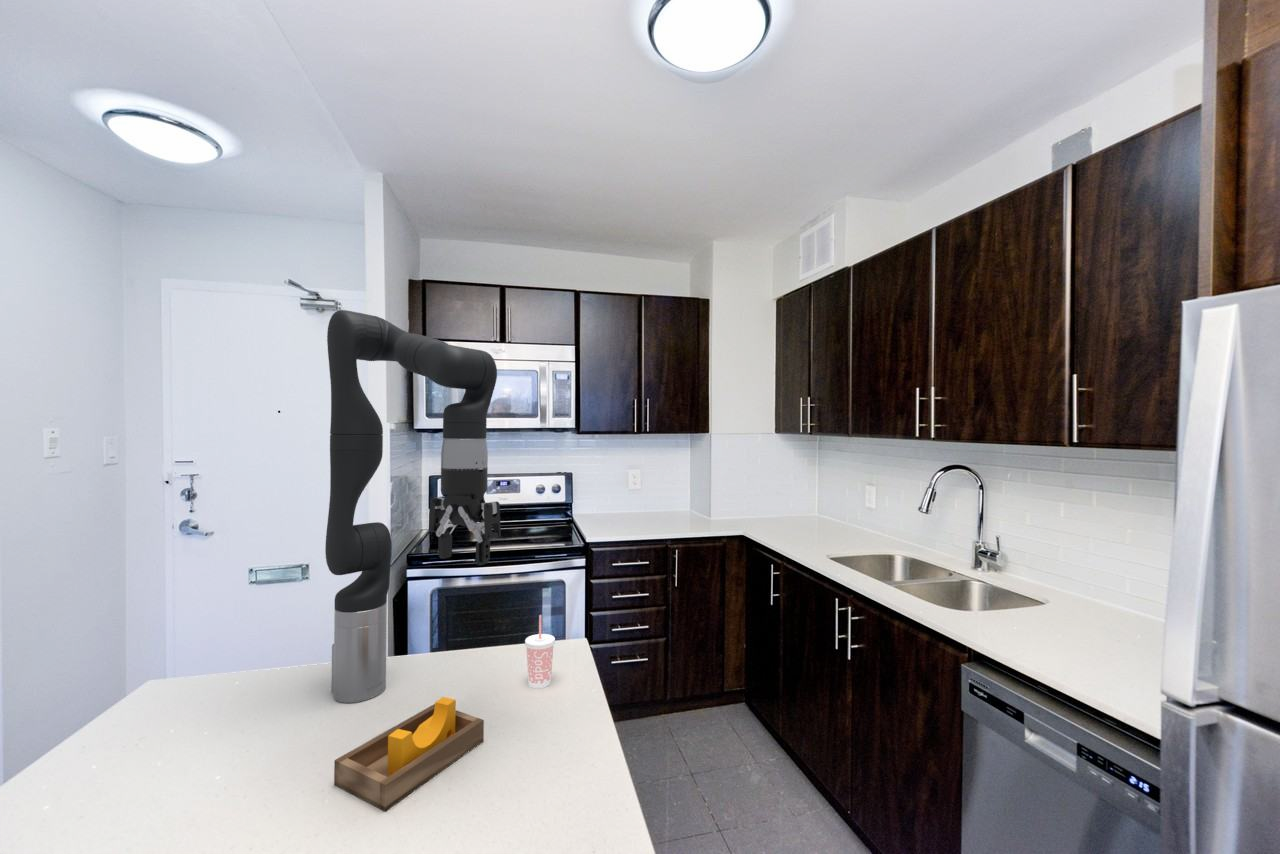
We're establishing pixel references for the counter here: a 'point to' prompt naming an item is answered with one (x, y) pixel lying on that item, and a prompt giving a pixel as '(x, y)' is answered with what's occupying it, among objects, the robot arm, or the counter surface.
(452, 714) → the pipe clamp
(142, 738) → the counter surface
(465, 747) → the wooden tray
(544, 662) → the beverage cup
